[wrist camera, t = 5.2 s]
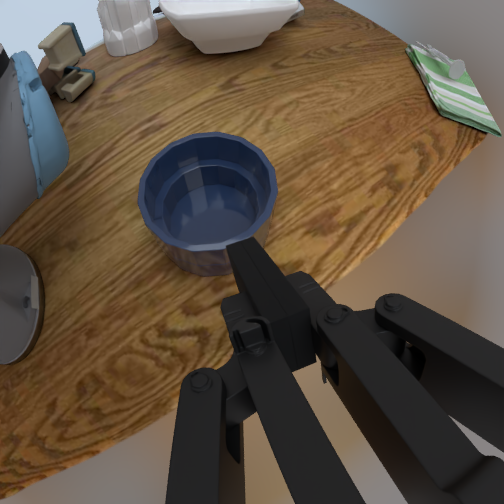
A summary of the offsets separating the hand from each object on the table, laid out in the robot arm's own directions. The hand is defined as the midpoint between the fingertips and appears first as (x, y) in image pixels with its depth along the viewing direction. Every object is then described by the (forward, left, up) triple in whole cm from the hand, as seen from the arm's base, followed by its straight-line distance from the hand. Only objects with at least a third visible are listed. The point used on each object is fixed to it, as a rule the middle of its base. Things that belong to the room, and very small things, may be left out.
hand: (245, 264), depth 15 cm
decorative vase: (+24, +50, -15) cm, 58 cm away
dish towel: (+61, -5, -15) cm, 63 cm away
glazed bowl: (+5, +8, -15) cm, 18 cm away
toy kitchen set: (+4, +51, -8) cm, 51 cm away
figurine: (+61, -5, -10) cm, 62 cm away
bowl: (+34, +33, -15) cm, 49 cm away
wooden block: (+4, +46, -8) cm, 47 cm away
